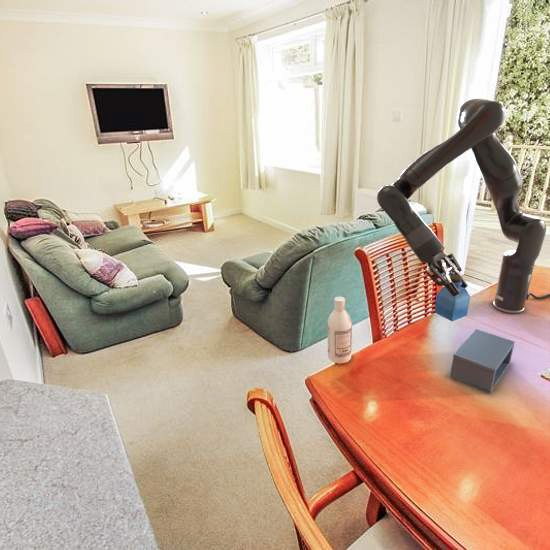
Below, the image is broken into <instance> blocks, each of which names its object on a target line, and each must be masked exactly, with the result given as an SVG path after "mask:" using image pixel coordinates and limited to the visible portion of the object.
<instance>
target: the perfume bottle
mask: <svg viewBox="0 0 550 550" xmlns="http://www.w3.org/2000/svg"><path fill="white" fill-rule="evenodd" d="M449 277H450V279H451V282H453V283H454V285H455V286H456V287H457V288H458V290H459V291H460V293H459V294H458V295H456V296H452V295H451V293H450V292H449V291H448V290H447V288H446V287H445V286H442V287H441V289H440V290H439V291H438V292H437V293H436V296H435V297H436V298H435V305H434V313H435V314H437V316H440V317H442V318H445V319H446V320H448V321H450V322H455V321H457V320H459V319H461V318H464V317H467V316H468V312H469V307H470V301H471V295H470V293H469V292H468V290H467V288H463V287H461V285H462V281H461V279H462V278H463V276H462V275H450V276H449Z"/></svg>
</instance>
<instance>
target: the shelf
mask: <svg viewBox="0 0 550 550" xmlns="http://www.w3.org/2000/svg"><path fill="white" fill-rule="evenodd" d="M515 343H516V342H515V341H514V340H511V339H508V338H506V337H505V338H504V337H503V336H500V335H496V334H493V333H489V332H486V331H483V330H480V329H477V328H476V329H475V330H474V331H473V332H472V333H471V334H470V335H469V336H468V337H467V339H465V341H464V342H463V343H462V344H461V345H460V346H459V348H458V349H457V350H456V351H455V352H454V353H453V355H452V362H451V369H450V375H449V378H450V379H453V380H455V381H457V382H461V383H463V384H464V385H467V386H470V387H472V388H474V389H477V390H479V391H481V392H483V393H487V394H489V395H490V394H491V393H492V392H493V390H494V389H495V388H496V386H497V384H498V382H500V380H501V378H502V376H503V375H504V374H505V372H506V371H507V369H508V367H509V366H510V364H511V360H512V355H513V351H514V348H515Z"/></svg>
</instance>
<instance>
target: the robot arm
mask: <svg viewBox="0 0 550 550" xmlns="http://www.w3.org/2000/svg"><path fill="white" fill-rule="evenodd" d="M505 119H506V108H505V106H504V105H503V104H502V103H500V102H499V101H496V100H493V99H485V98H472V99H471V98H470V99H469V100H466V101H465V102H464V103H463V104H462V105H461V106H460V107H459V109H458V112H457V115H456V123H457V127H458V129H459V130H458V131H457V132H456V133H454V134H453V135H451V136H450V137H449V138H447V139H446V140H444V141H442V142H441V143H439V144H437V145H436V146H433V147H431V148H430V149H428V150H427V151H425V152H424V153H422V154H420V156H418V157H417V158H415V160H413V162H411V163H410V164H409V165H408V166H407V167H406V168H405V169H404V170H403V171H402V172H401V173H400V176H399V177H398V178H397V179H396V180H395V181H394V182H393V183H392V184H387V185H384V186H382V187H381V188H380V189H379V190H378V191H377V193H376V200H377V203H378V206H379V207H380V209H382V210H383V211H384V212H385V214H386V215H387V216H388V217H389V218H390V220H391V221H392V222H393V224H394V226H395V227H396V229H397V231H398V232H399V234H401V236H402V237H403V238H404V240H405V242H406V243H407V245H408V246H409V248H410V249H411V251H412V252H413V253H414V255H415V256H416V257H417V258H418V260H419V261H420V262H421V264H423V263H426V264H427V266H428V268H427V269H426V270H424V273H425V275H426V276H428V277H429V278H430V280H432V282H434V283H435V284H436V285H437V287H444V286H445V287H446V288H447V290H448V291H449V292H450V293H451V295H452V296H456V295H458V294H459V293H460V291H459V290H458V288H457V287H456V286H455V285H454V283H453V282H451V279H450V275H460V276H462V274H461V272H462V271H463V269H462V267H461V266H460V264H459V262H458V261H457V259H456V257H455V255H454V254H453V253H449V254H446V253H445V252H444V250H445V249H446V247H445V246H444V244H443V243H442V241H441V240H440V239H439V238H438V236H437V235H436V234H435V232H434V231H433V230H432V228H430V227H429V225H428V224H427V223H425V221H424V220H423V219H422V217H421V216H420V215H419V214H418V212H416V210H415V209H414V208H413V207H412V205H411V204H410V202H409V199H410V198H411V197H412V196H413V195H414V194H415V193H416V192H417V191H418V190H419V189H421V188H422V187H423V186H425V185H426V184H427V183H428V182H429V181H430V180H431V179H433V178H434V177H435V176H436V175H437V174H438V173H439V172H440V171H441V170H443V169H445V168H446V167H447V166H448V165H449V164H451V163H452V162H453V161H455V160H456V159H458V158H459V157H461V156H462V155H463V154H465V153H467V152H468V151H470V149H471V152H472V154H473V157H474V159H475V162H476V165H477V168H478V169H479V172H480V174H481V177H482V180H483V182H484V185H485V187H486V190H487V192H488V194H489V195H490V199H491V200H492V203H493V206H494V208H495V211H496V214H497V217H498V221H499V222H498V223H499V225H500V229H501V232H502V234H503V236H504V238H506V239H507V240H509V241H511V242H514V243H517V246H516V249H513V250H507V251H505V252H503V255H502V259H501V263H500V264H501V265H500V269H499V270H500V271H499V275H498V280H497V286H496V292H495V295H494V300H493V304H492V306H493V307H494V308H495V309H497V311H501V312H503V313H506V314H507V313H508V314H520V313H523V312H524V311H525V306H526V301H528V300H529V299H530V296H531V297H532V298H533V299H536V300H543V299H546V298H549V297H550V293H548V294H546V295H543V296H537V295H535V294H534V293H532V292H530V291H529V290H530V285H531V280H532V276H533V272H534V267H535V263H536V261H537V259H538V258H539V256H540V253H541V250H542V247H543V243H544V240H545V237H546V233H547V224H546V221H545V220H543V219H541V218H539V217H536V216H532V215H528V214H525V213H524V212H523V211H522V209H521V207H520V203H519V201H518V199H519V195H520V193H521V191H522V187H523V178H522V174H521V172H520V169H519V167H518V164H517V162H516V160H515V159H514V157H513V156H512V155H511V153H510V152H509V151H508V150H507V148H506V147H505V146H504V145H503V144H502V143H501V141H500V140H499V138H498V137H497V135H496V132H497V131H498V130H499V129H500V128H501V126H503V123H504V121H505ZM461 281H462V285H461V287H463V288H465V289H467V287H468V283H467V282H466V281H465V279H464V278H463V277H462V279H461Z"/></svg>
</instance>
